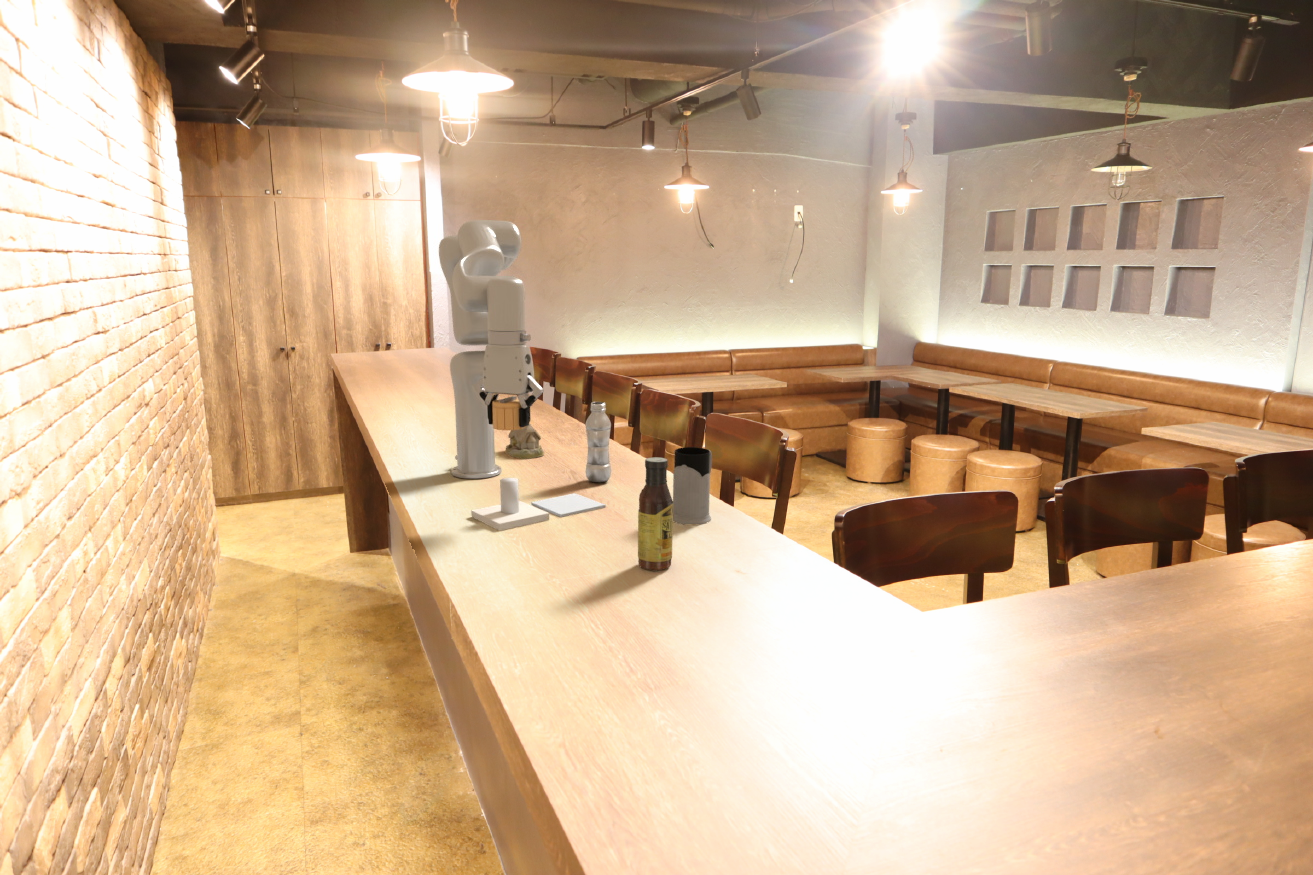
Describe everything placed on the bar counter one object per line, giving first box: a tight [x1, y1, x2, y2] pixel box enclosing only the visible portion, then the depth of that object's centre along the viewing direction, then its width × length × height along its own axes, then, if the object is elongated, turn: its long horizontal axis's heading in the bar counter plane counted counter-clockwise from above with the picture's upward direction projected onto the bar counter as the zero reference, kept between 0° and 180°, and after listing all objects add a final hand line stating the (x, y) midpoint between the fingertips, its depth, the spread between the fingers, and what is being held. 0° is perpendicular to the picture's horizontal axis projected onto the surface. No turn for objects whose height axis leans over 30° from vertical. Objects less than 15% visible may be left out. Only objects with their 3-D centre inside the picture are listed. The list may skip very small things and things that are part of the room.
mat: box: [530, 492, 607, 518], centre depth 187 cm, size 12×12×1 cm
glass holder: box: [672, 446, 713, 525], centre depth 180 cm, size 9×14×15 cm, turn 152°
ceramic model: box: [504, 423, 545, 460], centre depth 237 cm, size 14×11×10 cm
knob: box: [492, 395, 525, 431], centre depth 173 cm, size 7×7×6 cm
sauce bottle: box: [637, 456, 674, 572], centre depth 149 cm, size 6×6×20 cm
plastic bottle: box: [584, 401, 612, 483], centre depth 206 cm, size 6×7×20 cm
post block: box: [470, 477, 550, 531], centre depth 177 cm, size 12×12×8 cm
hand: (509, 423), depth 173 cm, fingers closed on knob, 6 cm apart
